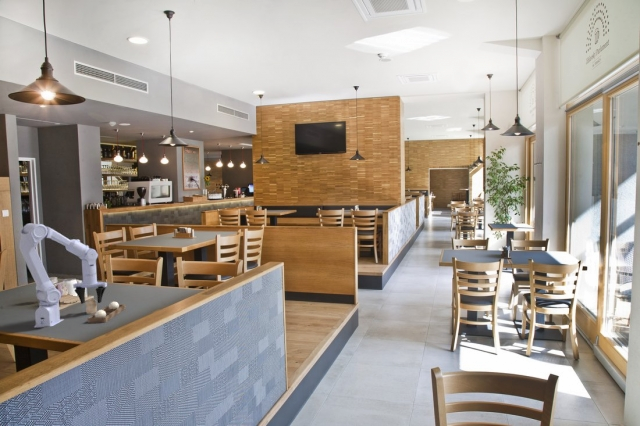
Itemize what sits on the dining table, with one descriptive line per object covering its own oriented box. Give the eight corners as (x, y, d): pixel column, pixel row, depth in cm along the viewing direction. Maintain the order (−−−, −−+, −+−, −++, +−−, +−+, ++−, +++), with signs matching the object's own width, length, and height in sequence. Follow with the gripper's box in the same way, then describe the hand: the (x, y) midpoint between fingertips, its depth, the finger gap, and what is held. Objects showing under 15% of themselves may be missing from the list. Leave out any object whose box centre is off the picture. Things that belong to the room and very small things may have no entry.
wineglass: (56, 298, 235) (54, 276, 235) (61, 300, 231) (59, 277, 230) (41, 301, 230) (40, 278, 229) (46, 303, 226) (45, 280, 225)
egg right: (116, 312, 205) (116, 302, 205) (107, 312, 205) (106, 303, 204) (120, 309, 209) (120, 300, 209) (111, 309, 209) (110, 300, 209)
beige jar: (94, 314, 204) (93, 299, 203) (84, 315, 204) (83, 300, 203) (98, 312, 208) (97, 297, 208) (89, 312, 208) (88, 297, 208)
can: (71, 304, 223) (70, 280, 223) (60, 303, 225) (59, 280, 224) (80, 300, 230) (79, 278, 229) (70, 300, 231) (68, 277, 230)
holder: (105, 323, 190) (105, 317, 190) (87, 324, 190) (87, 318, 189) (125, 309, 211) (125, 304, 211) (109, 310, 211) (109, 304, 211)
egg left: (103, 321, 191) (103, 311, 191) (93, 321, 191) (92, 311, 191) (108, 318, 196) (107, 308, 195) (98, 318, 196) (97, 308, 195)
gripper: (109, 271, 209) (110, 299, 210) (78, 272, 208) (79, 300, 209) (102, 274, 202) (104, 304, 203) (70, 275, 201) (72, 305, 202)
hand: (91, 302), depth 206 cm, fingers open, 7 cm apart
